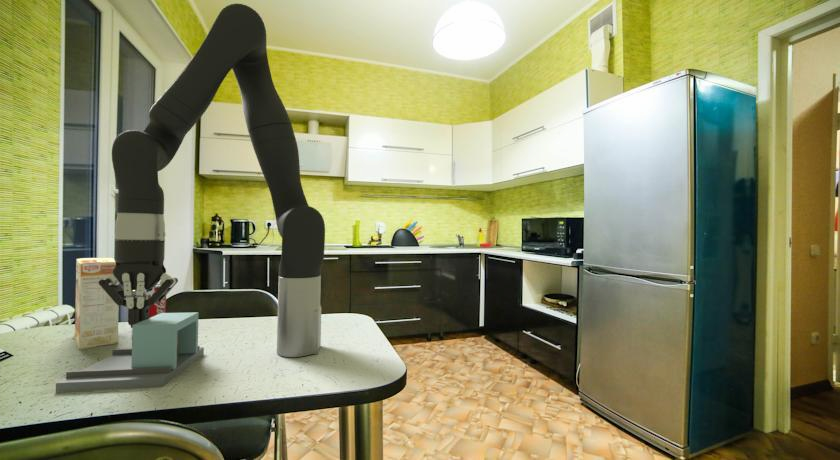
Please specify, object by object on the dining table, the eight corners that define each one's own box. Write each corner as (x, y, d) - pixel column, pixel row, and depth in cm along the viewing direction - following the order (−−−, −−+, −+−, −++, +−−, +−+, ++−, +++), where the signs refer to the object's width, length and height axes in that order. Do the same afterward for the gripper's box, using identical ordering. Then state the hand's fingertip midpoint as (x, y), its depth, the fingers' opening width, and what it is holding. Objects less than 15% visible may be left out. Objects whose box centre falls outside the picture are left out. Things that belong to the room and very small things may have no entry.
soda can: (147, 334, 89) (148, 288, 89) (125, 332, 90) (126, 286, 90) (172, 327, 96) (173, 284, 96) (151, 325, 97) (152, 282, 97)
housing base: (203, 354, 76) (204, 322, 76) (162, 386, 60) (163, 346, 60) (121, 357, 73) (122, 324, 73) (55, 392, 57) (56, 350, 57)
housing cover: (197, 351, 73) (198, 312, 73) (174, 369, 64) (175, 324, 64) (160, 353, 71) (161, 313, 72) (131, 371, 62) (132, 325, 62)
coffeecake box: (73, 335, 87) (75, 258, 87) (111, 330, 92) (113, 257, 92) (76, 350, 77) (78, 262, 77) (119, 343, 82) (120, 261, 82)
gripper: (86, 237, 62) (83, 333, 62) (167, 238, 64) (165, 331, 64) (115, 236, 69) (113, 322, 69) (187, 237, 72) (185, 321, 72)
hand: (138, 326), depth 67 cm, fingers closed
